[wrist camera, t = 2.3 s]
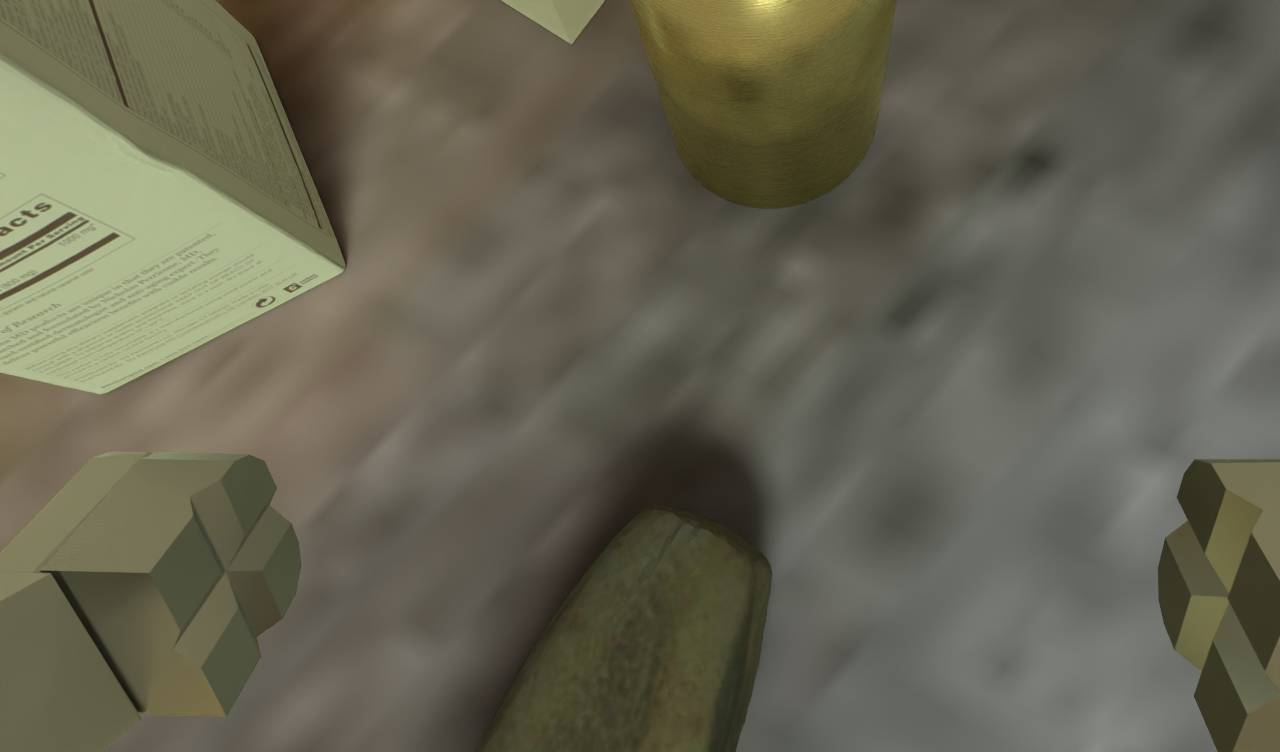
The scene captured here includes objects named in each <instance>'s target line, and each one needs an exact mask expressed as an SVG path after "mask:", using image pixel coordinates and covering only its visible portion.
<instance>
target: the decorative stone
mask: <svg viewBox="0 0 1280 752" xmlns="http://www.w3.org/2000/svg"><path fill="white" fill-rule="evenodd" d="M771 577H772V571H771V566H770V564H769V562H768V560H767V558H766V557H765V556H764V555H763V554H762V553H761V552H760V551H759V550H758V549H757V548H755V547H754V546H753V545H751V544H750V543H749V542H747V541H746V540H745V539H743V538H742V537H740V536H739V535H737V534H735V533H734V532H733V531H731V530H730V529H728V528H727V527H725V526H723V525H721V524H719V523H717V522H714V521H712V520H710V519H707V518H704V517H701V516H699V515H697V514H694V513H691V512H687V511H684V510H680V509H676V508H672V507H669V506H664V505H653V506H649V507H647V508H645V509H644V510H642V511H641V512H640V513H639V514H638V515H637V516H636V517H634V518H633V519H632V520H631V521H630V522H629V523H628V524H627V525H626V526H625V527H624V528H623V529H622V530H621V531H620V532H619V533H618V534H617V535H616V536H615V537H614V538H613V539H612V540H611V542H610V543H609V544H608V546H607V547H606V548H605V549H604V550H603V552H602V553H601V554H600V555H599V556H598V558H597V559H596V560H595V561H594V563H593V564H592V565H591V566H590V568H589V569H588V570H587V572H586V573H585V574H584V576H583V577H582V578H581V580H580V581H579V583H578V584H577V585H576V587H575V588H574V589H573V590H572V591H571V593H570V594H569V595H568V597H567V598H566V600H565V601H564V603H563V604H562V605H561V607H560V608H559V610H558V611H557V612H556V614H555V615H554V617H553V618H552V620H551V621H550V623H549V624H548V626H547V627H546V629H545V630H544V632H543V634H542V635H541V637H540V638H539V640H538V641H537V643H536V644H535V646H534V648H533V649H532V651H531V653H530V654H529V656H528V658H527V659H526V661H525V663H524V664H523V666H522V668H521V670H520V671H519V673H518V675H517V677H516V679H515V680H514V682H513V684H512V686H511V688H510V690H509V692H508V693H507V695H506V697H505V699H504V701H503V703H502V705H501V707H500V709H499V710H498V712H497V714H496V715H495V717H494V719H493V721H492V723H491V726H490V728H489V730H488V732H487V734H486V736H485V738H484V740H483V742H482V744H481V746H480V748H479V750H478V752H736V748H737V744H738V740H739V736H740V733H741V730H742V727H743V725H744V722H745V718H746V714H747V709H748V706H749V703H750V699H751V695H752V690H753V685H754V680H755V676H756V672H757V668H758V664H759V658H760V652H761V645H762V638H763V631H764V627H765V622H766V614H767V605H768V600H769V595H770V589H771Z"/></svg>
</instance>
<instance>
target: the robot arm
mask: <svg viewBox="0 0 1280 752" xmlns="http://www.w3.org/2000/svg"><path fill="white" fill-rule="evenodd" d="M276 489H277V487H276V485H275V483H274V481H273V478H272V476H271V474H270V472H269V470H268V468H267V465H266V463H265V461H263V460H261V459H258V458H256V457H254V456H251V455H244V454H209V453H174V452H156V453H148V452H108V453H105V454H102V455H99V456H96V457H93V458H91V459H90V460H89V461H88V462H87V464H86V465H85V466H84V467H83V468H82V469H81V470H80V471H79V472H78V473H77V474H76V475H75V476H74V477H73V478H72V479H71V480H70V481H69V482H68V483H67V484H66V485H65V486H64V487H63V488H62V489H61V490H60V491H59V492H58V493H57V494H56V495H55V497H54V498H53V499H52V500H51V501H50V502H49V503H48V504H47V505H46V506H45V507H44V508H43V509H42V510H41V511H40V512H39V513H38V514H37V515H36V516H35V517H34V518H33V519H32V520H31V521H30V522H29V523H28V524H27V525H26V526H25V527H24V528H23V530H22V531H21V532H20V533H19V534H18V535H17V536H16V537H15V538H14V539H13V540H12V541H11V542H10V543H9V544H8V545H7V546H6V547H5V548H4V549H3V550H2V551H1V552H0V752H103V751H104V750H105V749H107V748H108V747H109V746H110V745H111V744H113V743H114V742H115V741H116V740H117V739H119V738H120V737H121V736H122V735H123V734H124V733H126V732H127V731H128V730H129V729H130V728H132V727H133V726H134V725H135V724H136V723H138V722H139V721H140V720H141V717H140V715H182V716H225V717H227V715H228V714H229V712H230V710H231V708H232V707H233V705H234V703H235V701H236V700H237V698H238V696H239V694H240V693H241V691H242V689H243V688H244V686H245V684H246V682H247V681H248V679H249V677H250V675H251V674H252V672H253V670H254V668H255V667H256V665H257V663H258V661H259V660H260V658H261V654H260V650H259V645H258V641H257V637H258V636H259V635H261V634H262V633H264V632H265V631H266V630H268V629H269V628H271V627H272V626H273V625H275V624H276V623H278V622H279V621H281V620H282V619H283V617H284V616H285V614H286V612H287V610H288V608H289V606H290V604H291V602H292V601H293V599H294V597H295V595H296V590H297V585H298V580H299V575H300V570H301V558H300V549H299V542H298V539H297V537H296V534H295V531H294V529H293V526H292V524H291V522H289V521H288V520H287V519H286V518H284V517H283V516H282V515H281V514H279V513H278V512H277V511H276V510H275V509H273V508H272V507H271V506H270V502H271V500H272V498H273V496H274V493H275V491H276ZM1177 499H1178V501H1179V503H1180V505H1181V507H1182V509H1183V511H1184V513H1185V515H1186V517H1187V519H1188V521H1187V522H1185V523H1184V524H1183V525H1181V526H1180V527H1179V528H1178V529H1176V530H1175V531H1174V532H1172V533H1171V534H1170V535H1168V536H1167V537H1166V538H1165V541H1164V545H1163V550H1162V554H1161V558H1160V562H1159V566H1158V588H1159V603H1160V608H1161V612H1162V616H1163V621H1164V625H1165V627H1166V630H1167V632H1168V635H1169V637H1170V640H1171V642H1172V645H1173V647H1174V650H1175V651H1177V652H1178V653H1179V654H1180V655H1182V656H1183V657H1184V658H1186V659H1187V660H1188V661H1189V662H1191V663H1192V664H1193V665H1195V666H1196V667H1197V668H1199V669H1200V670H1201V671H1202V673H1201V676H1200V679H1199V682H1198V685H1197V688H1196V691H1195V694H1194V697H1195V700H1196V702H1197V704H1198V707H1199V709H1200V711H1201V714H1202V716H1203V718H1204V721H1205V723H1206V725H1207V728H1208V730H1209V732H1210V735H1211V737H1212V739H1213V742H1214V744H1215V746H1216V749H1217V751H1218V752H1280V459H1194V461H1193V462H1192V464H1191V465H1190V466H1189V468H1188V469H1187V470H1186V472H1185V473H1184V476H1183V479H1182V482H1181V485H1180V489H1179V492H1178V495H1177Z"/></svg>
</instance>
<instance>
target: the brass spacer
mask: <svg viewBox="0 0 1280 752" xmlns="http://www.w3.org/2000/svg"><path fill="white" fill-rule="evenodd" d="M629 1H630V4H631V7H632V10H633V13H634V16H635V20H636V23H637V26H638V29H639V32H640V35H641V38H642V42H643V45H644V48H645V51H646V54H647V57H648V60H649V63H650V67H651V70H652V73H653V76H654V79H655V82H656V85H657V89H658V92H659V95H660V98H661V101H662V104H663V107H664V111H665V114H666V117H667V120H668V123H669V126H670V129H671V132H672V136H673V139H674V142H675V145H676V147H677V150H678V153H679V155H680V157H681V159H682V161H683V162H684V164H685V166H686V167H687V169H688V170H689V171H690V173H691V174H692V175H693V176H694V177H695V178H696V179H697V180H698V181H699V182H700V183H701V184H702V185H703V186H704V187H706V188H707V189H708V190H710V191H711V192H712V193H714V194H716V195H718V196H720V197H721V198H723V199H725V200H728V201H731V202H733V203H736V204H739V205H743V206H748V207H754V208H763V209H764V208H783V207H791V206H795V205H798V204H802V203H805V202H808V201H811V200H813V199H816V198H818V197H820V196H822V195H823V194H825V193H827V192H829V191H830V190H832V189H833V188H835V187H836V186H837V185H839V184H840V183H841V182H842V181H844V180H845V179H846V178H847V177H848V176H849V175H850V174H851V173H852V172H853V171H854V169H855V168H856V167H857V166H858V165H859V163H860V162H861V160H862V159H863V157H864V156H865V154H866V152H867V150H868V148H869V146H870V144H871V142H872V139H873V136H874V133H875V129H876V125H877V118H878V112H879V106H880V100H881V93H882V87H883V81H884V75H885V69H886V62H887V56H888V50H889V44H890V38H891V31H892V25H893V19H894V13H895V7H896V0H629Z"/></svg>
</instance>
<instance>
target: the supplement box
mask: <svg viewBox="0 0 1280 752" xmlns="http://www.w3.org/2000/svg"><path fill="white" fill-rule="evenodd" d="M345 267H346V264H345V261H344V258H343V256H342V253H341V250H340V248H339V245H338V242H337V239H336V237H335V234H334V232H333V229H332V227H331V224H330V222H329V219H328V217H327V214H326V212H325V209H324V207H323V204H322V202H321V199H320V197H319V194H318V192H317V189H316V187H315V184H314V182H313V180H312V177H311V175H310V172H309V170H308V167H307V165H306V163H305V160H304V158H303V155H302V153H301V151H300V148H299V146H298V143H297V141H296V138H295V136H294V133H293V131H292V128H291V126H290V123H289V121H288V118H287V116H286V113H285V111H284V109H283V106H282V104H281V101H280V99H279V96H278V94H277V91H276V89H275V86H274V84H273V81H272V79H271V76H270V74H269V71H268V69H267V66H266V64H265V61H264V59H263V56H262V54H261V51H260V49H259V47H258V44H257V42H256V40H255V38H254V37H253V35H252V34H251V33H250V32H249V31H247V30H246V29H245V28H244V27H243V26H242V25H241V24H240V23H239V22H238V21H237V20H236V19H235V18H234V17H233V16H231V15H230V14H229V13H228V12H227V11H226V10H225V9H224V8H223V7H222V6H221V5H220V4H219V3H218V2H217V1H216V0H0V373H5V374H10V375H15V376H19V377H23V378H27V379H32V380H38V381H42V382H46V383H51V384H55V385H59V386H64V387H69V388H74V389H79V390H83V391H88V392H93V393H97V394H104V393H107V392H109V391H111V390H113V389H115V388H117V387H119V386H121V385H123V384H125V383H127V382H129V381H131V380H133V379H135V378H137V377H139V376H141V375H143V374H145V373H147V372H149V371H151V370H153V369H155V368H157V367H159V366H161V365H163V364H165V363H167V362H168V361H170V360H172V359H174V358H176V357H178V356H180V355H182V354H184V353H186V352H188V351H190V350H192V349H194V348H196V347H198V346H200V345H202V344H204V343H206V342H208V341H210V340H212V339H213V338H215V337H217V336H219V335H221V334H223V333H225V332H227V331H229V330H231V329H233V328H235V327H237V326H239V325H241V324H243V323H245V322H247V321H248V320H250V319H252V318H254V317H256V316H258V315H260V314H262V313H264V312H266V311H268V310H270V309H272V308H274V307H276V306H278V305H280V304H282V303H284V302H286V301H288V300H290V299H292V298H294V297H296V296H298V295H300V294H302V293H303V292H305V291H307V290H309V289H311V288H313V287H315V286H317V285H319V284H321V283H323V282H325V281H327V280H329V279H331V278H333V277H335V276H336V275H338V274H340V273H342V272H343V271H344V269H345Z"/></svg>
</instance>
